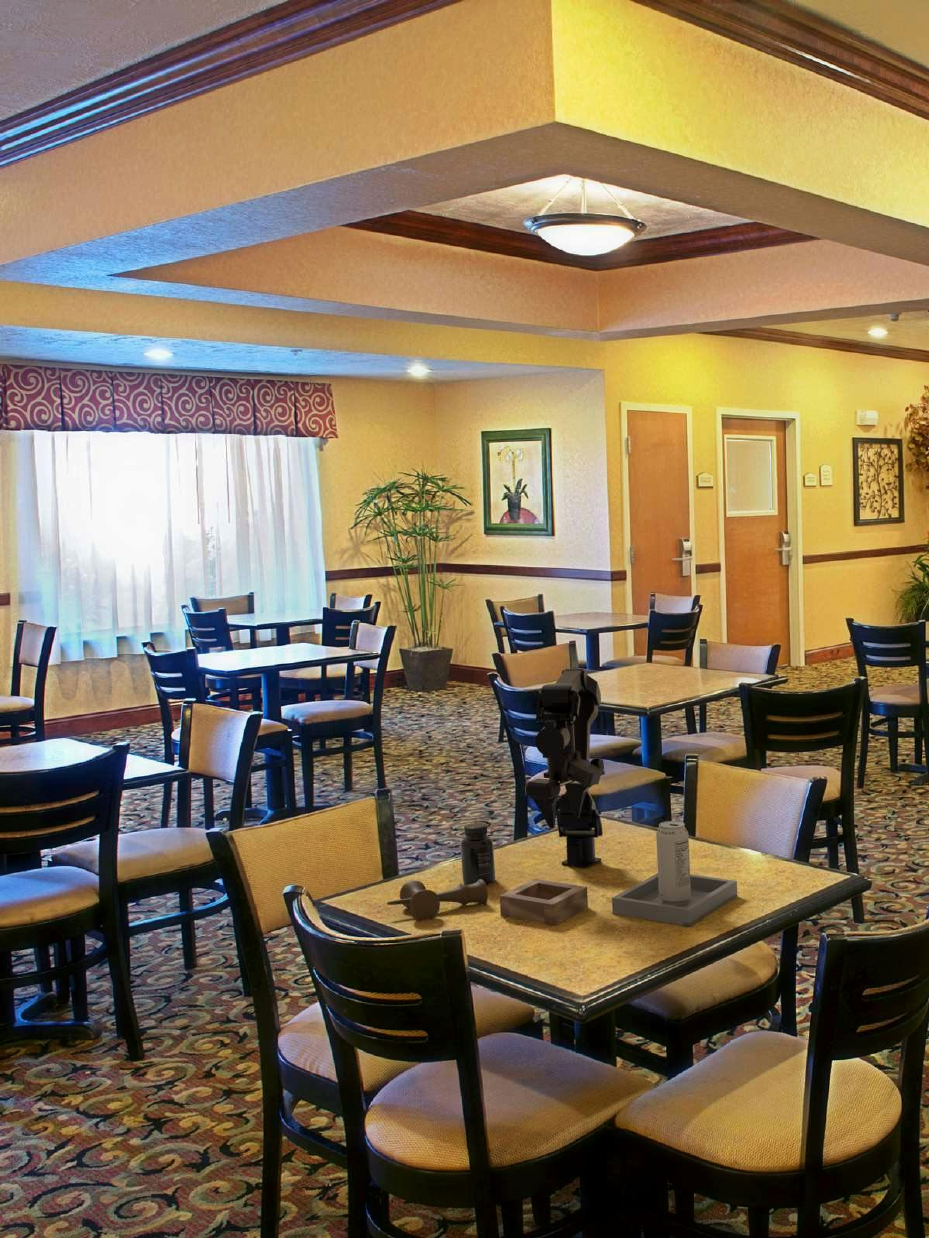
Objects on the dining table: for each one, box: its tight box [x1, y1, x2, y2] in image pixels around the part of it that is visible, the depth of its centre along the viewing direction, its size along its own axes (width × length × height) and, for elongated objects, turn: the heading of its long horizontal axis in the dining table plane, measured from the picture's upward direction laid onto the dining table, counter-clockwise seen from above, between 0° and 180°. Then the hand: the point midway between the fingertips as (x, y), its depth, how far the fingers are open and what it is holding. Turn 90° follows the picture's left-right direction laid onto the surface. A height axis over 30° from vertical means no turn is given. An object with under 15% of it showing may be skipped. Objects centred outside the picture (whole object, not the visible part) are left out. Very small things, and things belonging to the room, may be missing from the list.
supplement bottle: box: [460, 822, 496, 886], centre depth 258 cm, size 7×7×12 cm
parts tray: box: [611, 872, 738, 928], centre depth 237 cm, size 20×16×3 cm
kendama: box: [386, 879, 489, 922], centre depth 241 cm, size 6×10×20 cm
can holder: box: [499, 878, 589, 927], centre depth 237 cm, size 12×12×4 cm
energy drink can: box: [655, 820, 691, 906], centre depth 236 cm, size 6×6×15 cm
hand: (564, 822), depth 252 cm, fingers open, 9 cm apart
